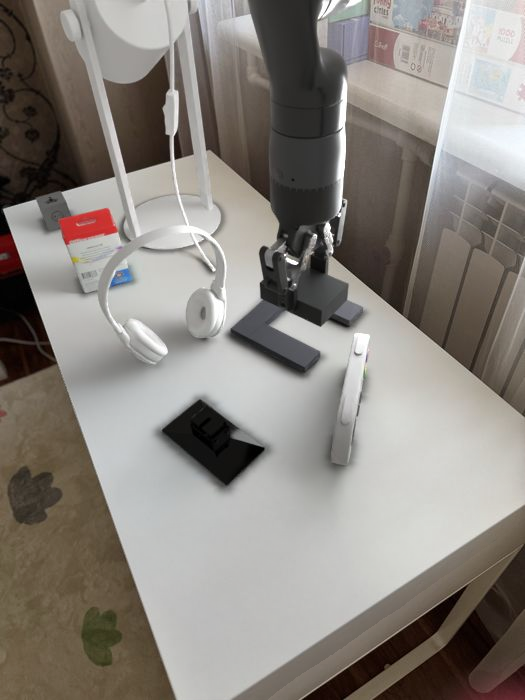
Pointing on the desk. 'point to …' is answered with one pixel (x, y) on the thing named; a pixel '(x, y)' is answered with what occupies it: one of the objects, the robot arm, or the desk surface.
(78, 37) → the desk lamp
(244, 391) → the desk surface
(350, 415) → the game controller
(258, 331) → the base pad
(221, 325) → the headphones
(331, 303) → the small pad
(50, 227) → the dice cube
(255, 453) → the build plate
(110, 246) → the ink box
